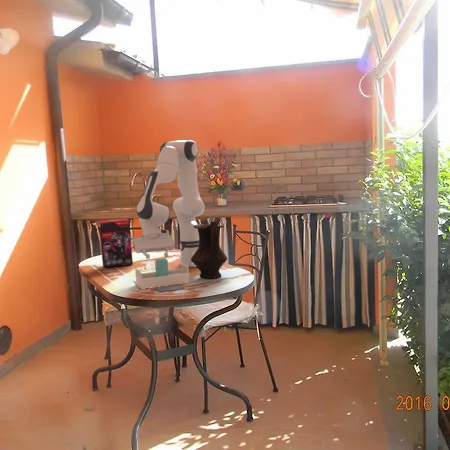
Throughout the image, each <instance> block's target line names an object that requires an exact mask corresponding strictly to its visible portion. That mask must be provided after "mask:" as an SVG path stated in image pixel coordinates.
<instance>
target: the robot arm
mask: <svg viewBox="0 0 450 450" xmlns="http://www.w3.org/2000/svg"><path fill="white" fill-rule="evenodd" d="M198 154H199V146H198V144H197V143H196V141H194V140H191V139H190V140H189V139H188V140H184V139H182V140H180V139H179V140H172V141H166V142H162V144H161V145H160V147H159V154H158V159H157V163H156V167H155V169H154V170H153V171H151V172H150V173H149V175H148V177H147V181H146V183H145V185H144V187H143V191H142V193H141V196H140V199H139V201H138V203H137V205H136V207H135V212H136V215H137V217H138V221H139V225H140V228H141V234H142V235H140V236H134V237H133V238H132V243H133V245H134V246H133V247H134V252H135V253H136V254H143V256H144V257H145V259H147V260H149V259H150V257H151V256H150V254H149V253H154V252H164V254H163V256H164V258H167V257H168V256H169V251H172V250H174V248H175V242H174V239H173V237H172V236H171V235H170V231H169V230H168V229H163V228H159V227H162V226H163V225H164V224H166V223H167V222H168V221H169V219H170V216H171V215H170V214H171V213H170V212H171V211H170V209H169V207H167V206H165V205H163V204H160V203H158V202H155V201H153V196H154V193H155V190H156V187H158V185H159V184H167V183H171V182H173V181H174V180H175V179H176V177H177V188H178V189H179V191H180V193H181V196H179V197H178V198H176V199H174V201H173V202H172V203H173V204H172V209H173V211H174V213H175V214H176V219H177V221H178V225H179V234H180V236H179V237H180V238H179V239H180V240H179V249H180V256H179V257H180V258H179V263H178V265H179V266H180V267H181V264H180V263H183V264H184V265H186V266H188V267H192V268H193V267H194V268H197V266H196V265H195V264H194V263H193V262H192V261H191V258H192V256H193V255H194V253H195V252H196V251H197V249H198V248H199V244H200V243H199V242H200V241H199V233H198V229H197V228H194V227H193V226H194V225H199V224H198V222H197V219H196V217H199V216H202V215H203V213H204V212H205V208H206V206H205V203H204V201H203V199H202V198H201V194H200V191H199V187H198V170H197V169H198V168H197V167H198V165H197V161H196V158H197V156H198Z"/></svg>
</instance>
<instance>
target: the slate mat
mask: <svg viewBox="0 0 450 450" xmlns="http://www.w3.org/2000/svg"><path fill="white" fill-rule="evenodd" d="M153 289H155V290H156V289H157V290H158V291H159V292H160V293H163V292H162V291H167V292H170V291H169V290H174V291H176V290H175V289H181V290H185V287H183V286H182V284H174V285H167V286H160V287H154V288H153ZM157 290H156V291H157ZM158 291H157V292H158ZM159 292H158V293H159Z"/></svg>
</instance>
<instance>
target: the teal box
mask: <svg viewBox="0 0 450 450" xmlns="http://www.w3.org/2000/svg"><path fill="white" fill-rule="evenodd" d="M168 262H169V260H168V259H167V258H166V257H164V258H155V259H154V263H155V272H156V277H160V276H167V275H169V274H168V270H169V263H168Z"/></svg>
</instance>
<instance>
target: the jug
mask: <svg viewBox="0 0 450 450" xmlns="http://www.w3.org/2000/svg"><path fill="white" fill-rule="evenodd" d="M193 227H194V228H197V229H198V233H199V241H200V242H199V243H200V244H199V248H198V249H197V251H196V252H195V253H194V255H193V256H192V258H191V261H192V262H193V263H194V264H195V265H196V266H197V267H196V268H197V269H198V271H199V272H200V273H199V277H200V278H201V279H210V280H211V279H220V278H221V277H222V274H221V272H220V270H221V268H222V267H223V265H224V264H225V263H226V262H227V260H228V257H227V255H226V253H225V251H223V249H221V247H220V229H221V228H224V227H225V225H224V224H218V221H217V220H212V221H211V222H210V223H208V224H198V225H194V226H193Z"/></svg>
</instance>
